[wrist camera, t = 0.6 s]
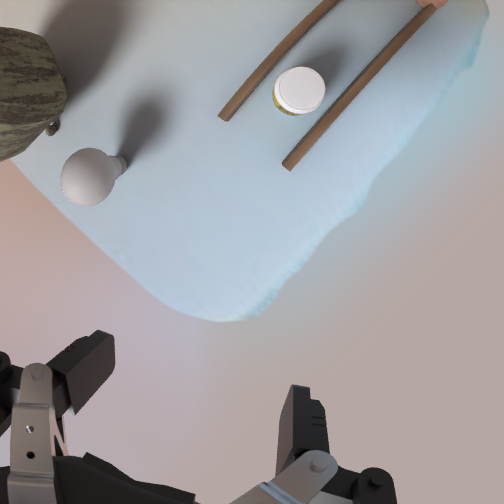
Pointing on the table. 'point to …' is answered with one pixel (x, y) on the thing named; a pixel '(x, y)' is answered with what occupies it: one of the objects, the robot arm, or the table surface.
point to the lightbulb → (90, 176)
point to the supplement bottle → (298, 91)
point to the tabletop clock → (27, 90)
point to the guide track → (430, 4)
